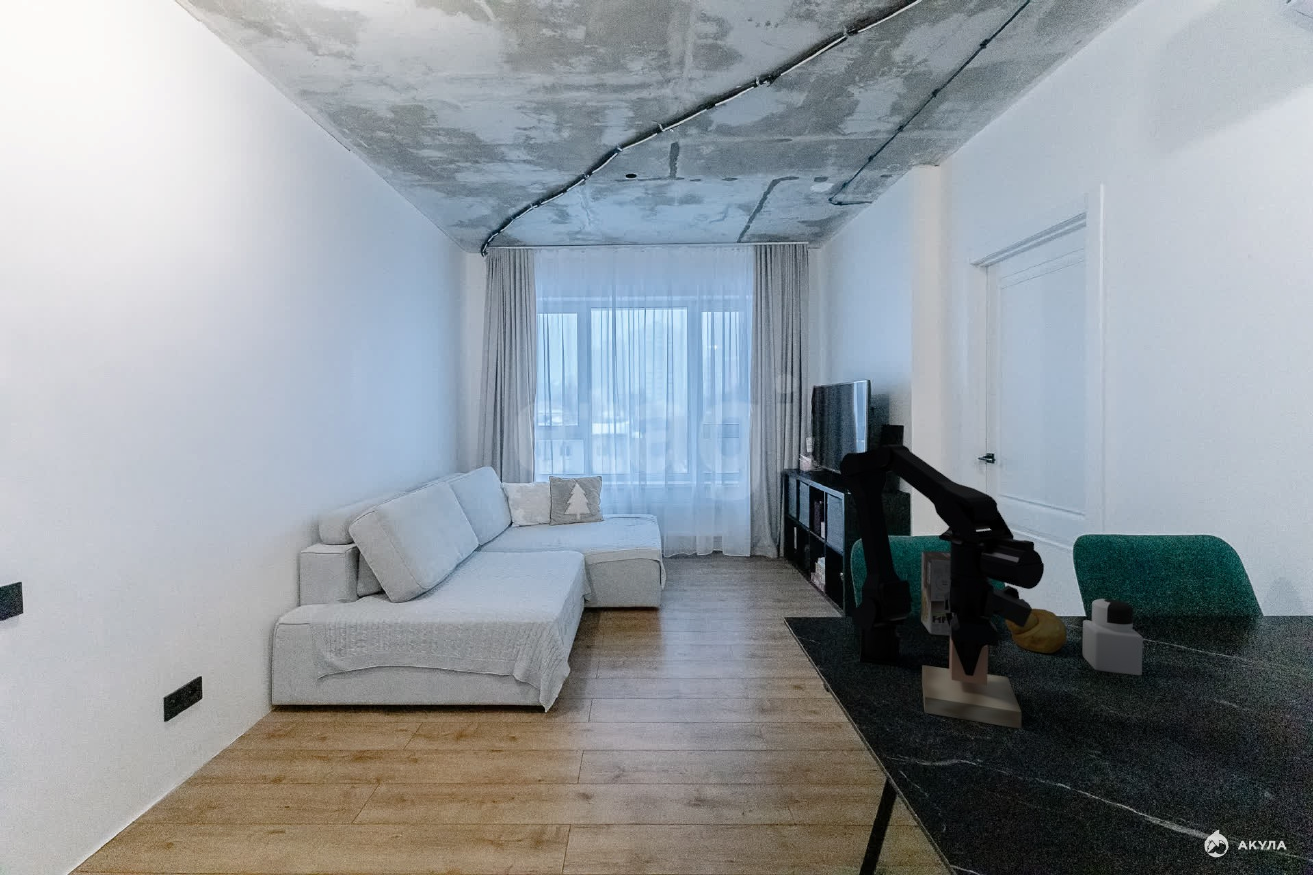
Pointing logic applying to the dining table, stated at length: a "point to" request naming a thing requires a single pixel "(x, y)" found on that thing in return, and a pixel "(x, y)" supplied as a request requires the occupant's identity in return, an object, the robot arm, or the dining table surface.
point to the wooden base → (970, 698)
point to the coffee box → (935, 591)
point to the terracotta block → (959, 673)
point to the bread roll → (1040, 632)
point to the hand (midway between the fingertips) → (967, 668)
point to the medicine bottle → (1112, 638)
